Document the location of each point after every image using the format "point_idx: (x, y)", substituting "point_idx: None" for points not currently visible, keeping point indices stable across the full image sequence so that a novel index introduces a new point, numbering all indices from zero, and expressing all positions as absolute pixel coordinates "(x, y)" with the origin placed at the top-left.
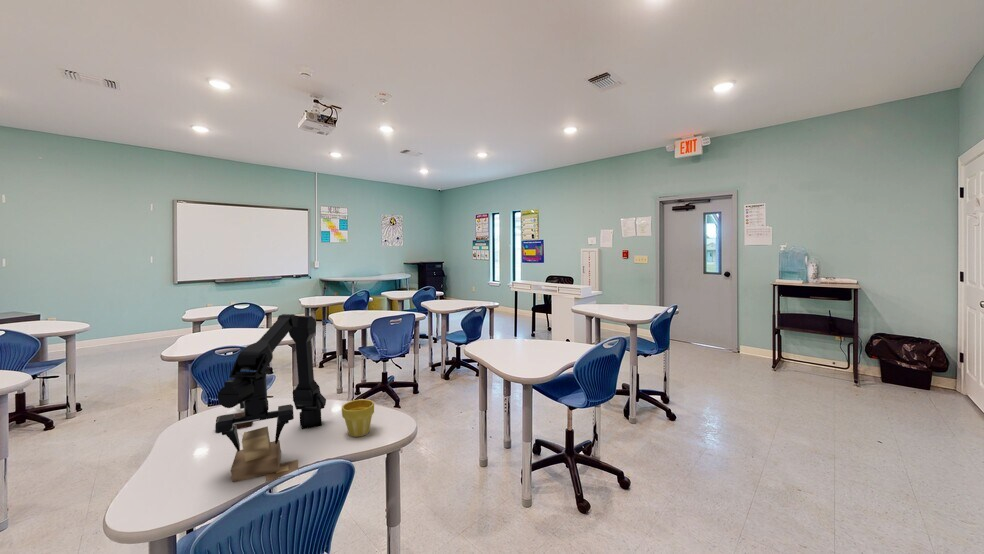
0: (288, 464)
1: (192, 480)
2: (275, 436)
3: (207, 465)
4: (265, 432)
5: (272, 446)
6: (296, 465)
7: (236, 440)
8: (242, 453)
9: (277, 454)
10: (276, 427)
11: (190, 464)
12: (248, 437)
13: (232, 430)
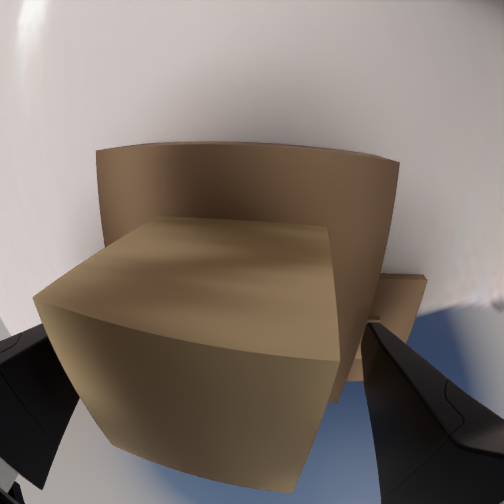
0: (383, 305)
1: (33, 218)
2: (382, 357)
3: (43, 113)
4: (285, 471)
5: (338, 258)
6: (406, 326)
7: (68, 417)
8: (132, 216)
9: (346, 377)
10: (420, 434)
11: (9, 91)
12: (135, 440)
13: (17, 472)
